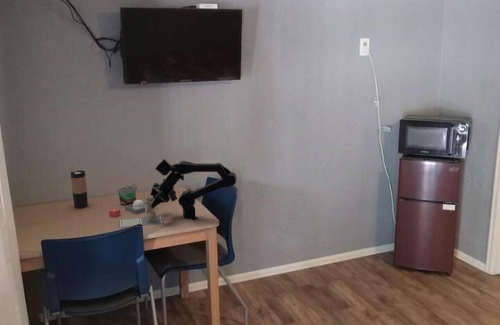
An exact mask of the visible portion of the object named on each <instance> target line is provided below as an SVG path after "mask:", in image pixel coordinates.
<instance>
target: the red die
mask: <svg viewBox="0 0 500 325" xmlns="http://www.w3.org/2000/svg"><path fill="white" fill-rule="evenodd" d="M108 214H109V215H108V216H109V217H110V218H117V217H119V216H121V209H117V208H112V209H109V211H108Z"/></svg>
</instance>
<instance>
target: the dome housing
mask: <svg viewBox="0 0 500 325" xmlns="http://www.w3.org/2000/svg"><path fill="white" fill-rule="evenodd" d="M144 205H145V202H144ZM124 206H125V207H124V208H125V211H126V212H127V211H128V212H129V213H132V214H135V215H138V214H141V213H145V207H143V208H139V209H135V208H133V204H131V205H124Z"/></svg>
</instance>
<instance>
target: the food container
mask: <svg viewBox="0 0 500 325" xmlns="http://www.w3.org/2000/svg"><path fill="white" fill-rule="evenodd" d="M137 189H138V186H137V184H136V183H133V185H127V186H124V187H121V188H118V187H117V193H118V197H119V204H120V205H121V206H127V205H131V204H133V203H134V201H135V200H137Z"/></svg>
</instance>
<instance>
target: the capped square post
mask: <svg viewBox="0 0 500 325" xmlns="http://www.w3.org/2000/svg"><path fill="white" fill-rule="evenodd" d="M153 201H154V198H153V196H152V195H150V194H149V195H145V199H144V203H145V212H144V213H145V217H146V221H147V223H149V222H156V216H157V214H156V211H157V210H156V206H155V207H154V208H151V205H152V203H153Z"/></svg>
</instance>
